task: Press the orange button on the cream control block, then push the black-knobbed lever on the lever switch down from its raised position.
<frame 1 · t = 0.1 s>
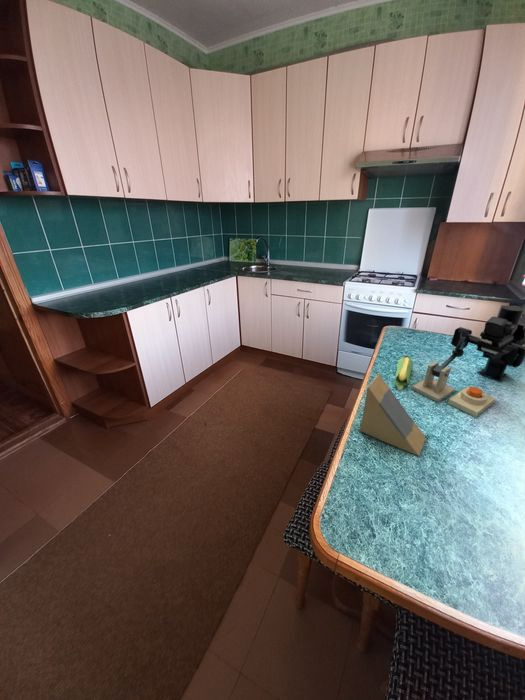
hand: (473, 353, 85), 17 cm above the table, tool horizontal, fingers open, 9 cm apart
sandwich container: (392, 434, 80), on the table
control block: (470, 402, 91), on the table
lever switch: (432, 390, 97), on the table
edible corn: (402, 377, 105), on the table
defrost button: (474, 392, 89), point 4 cm above the table, slide at 0.1 cm
black lever handle: (448, 361, 96), point 9 cm above the table, hinge at 20.0°
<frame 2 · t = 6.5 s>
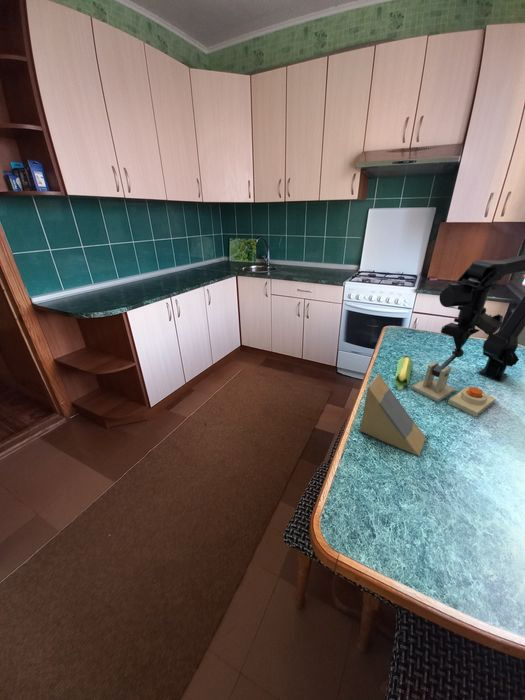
hand: (458, 349, 96), 13 cm above the table, tool pointing down, fingers closed
black lever handle: (448, 361, 96), point 9 cm above the table, hinge at 19.1°, touching gripper
everything else where it was.
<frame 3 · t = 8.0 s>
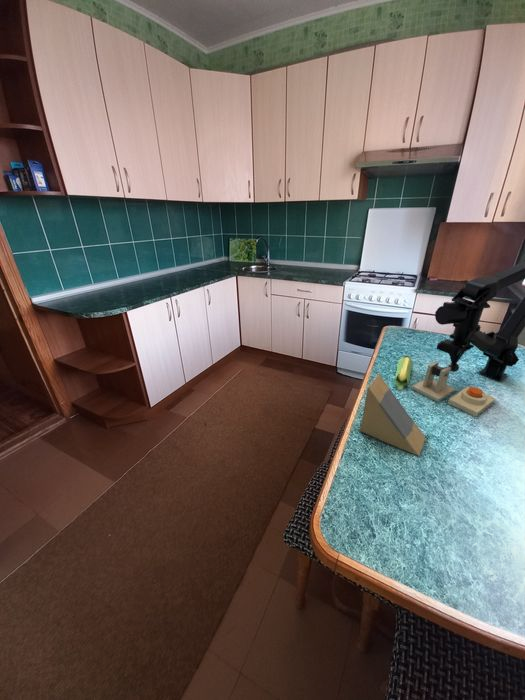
hand: (453, 363, 99), 7 cm above the table, tool pointing down, fingers closed
black lever handle: (446, 369, 97), point 6 cm above the table, hinge at -11.5°, touching gripper
everything else where it was.
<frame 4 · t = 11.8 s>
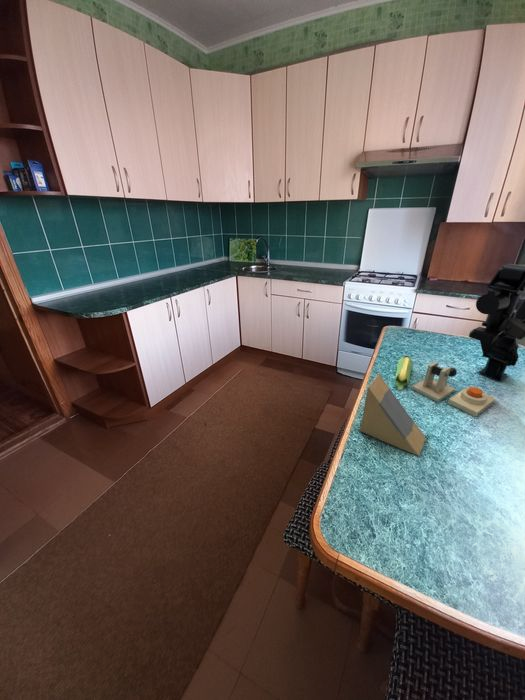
hand: (485, 353, 95), 12 cm above the table, tool pointing down, fingers closed
black lever handle: (445, 371, 97), point 5 cm above the table, hinge at -21.6°
everything else where it was.
at the end: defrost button pushed in 1.1 cm at the most during the clip, back to where it started at the end; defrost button slide at 0.1 cm; black lever handle at -22° (first picture: +20°) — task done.
